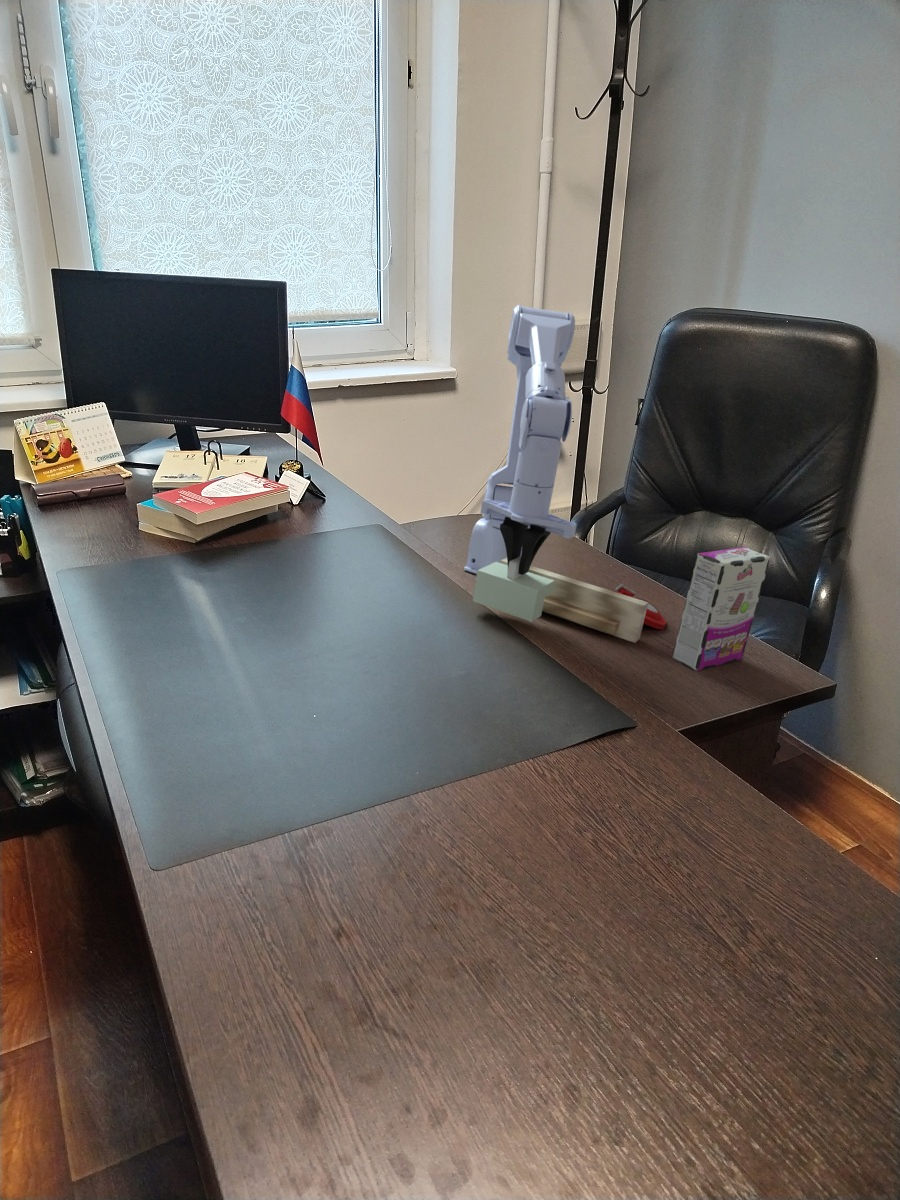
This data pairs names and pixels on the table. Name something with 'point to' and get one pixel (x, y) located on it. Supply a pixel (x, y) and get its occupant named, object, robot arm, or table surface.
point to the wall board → (593, 606)
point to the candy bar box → (720, 607)
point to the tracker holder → (652, 613)
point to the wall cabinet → (512, 590)
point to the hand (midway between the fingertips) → (517, 571)
